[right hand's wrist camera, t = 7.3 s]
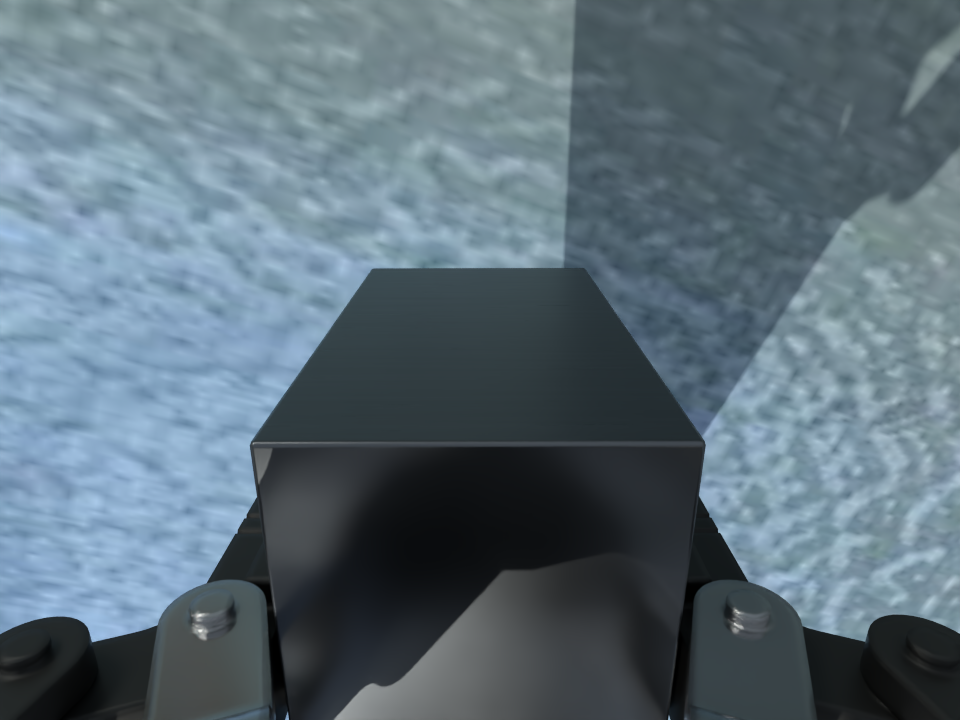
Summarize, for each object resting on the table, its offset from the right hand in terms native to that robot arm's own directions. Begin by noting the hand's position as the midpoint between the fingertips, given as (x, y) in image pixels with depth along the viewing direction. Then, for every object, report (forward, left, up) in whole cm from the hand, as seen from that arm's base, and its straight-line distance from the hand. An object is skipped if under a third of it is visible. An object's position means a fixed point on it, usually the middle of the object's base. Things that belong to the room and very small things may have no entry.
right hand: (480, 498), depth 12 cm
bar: (-2, +8, -4) cm, 9 cm away
